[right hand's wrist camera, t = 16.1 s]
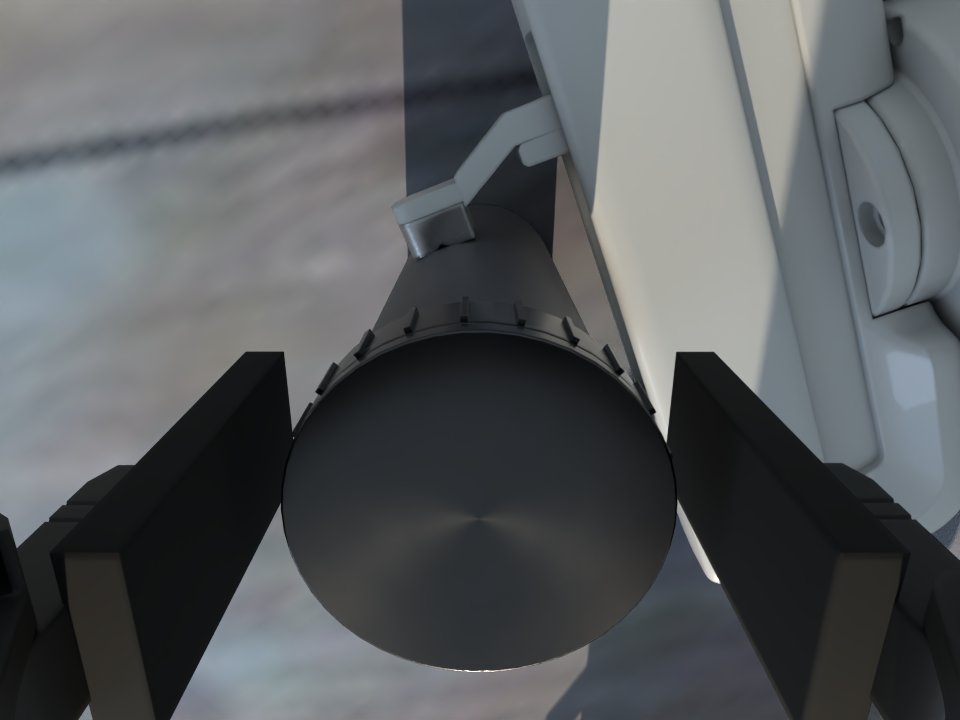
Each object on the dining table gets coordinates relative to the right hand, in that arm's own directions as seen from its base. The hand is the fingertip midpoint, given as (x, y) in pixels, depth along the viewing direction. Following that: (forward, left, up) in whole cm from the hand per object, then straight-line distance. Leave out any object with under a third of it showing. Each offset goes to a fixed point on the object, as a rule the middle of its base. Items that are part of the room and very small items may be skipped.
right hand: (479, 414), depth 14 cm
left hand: (0, -1, -6) cm, 6 cm away
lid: (0, 0, +3) cm, 3 cm away
